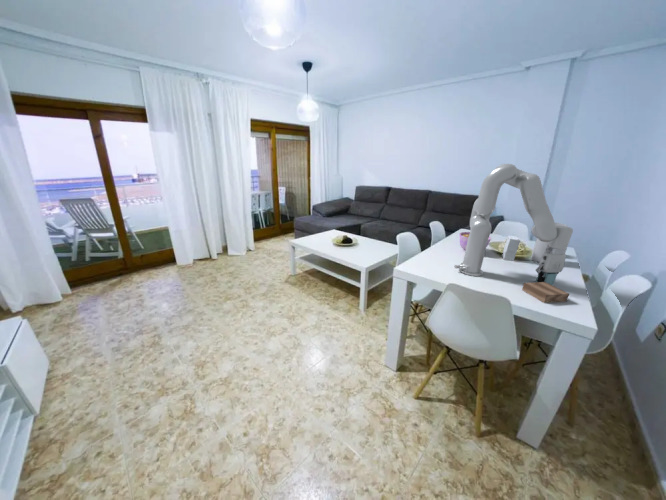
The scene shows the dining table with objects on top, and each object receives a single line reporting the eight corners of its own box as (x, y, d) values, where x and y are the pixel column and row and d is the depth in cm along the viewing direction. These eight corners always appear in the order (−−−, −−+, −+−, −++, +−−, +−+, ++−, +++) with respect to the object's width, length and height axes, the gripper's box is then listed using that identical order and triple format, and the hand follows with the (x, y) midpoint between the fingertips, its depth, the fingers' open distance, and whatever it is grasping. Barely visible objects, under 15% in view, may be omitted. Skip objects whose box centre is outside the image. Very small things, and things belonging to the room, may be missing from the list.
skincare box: (501, 255, 173) (507, 235, 168) (511, 257, 171) (517, 236, 166) (503, 259, 166) (509, 238, 161) (514, 261, 163) (520, 239, 158)
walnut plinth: (543, 302, 115) (546, 295, 113) (521, 290, 126) (524, 282, 125) (566, 301, 116) (569, 293, 115) (542, 289, 128) (545, 281, 126)
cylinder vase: (531, 261, 163) (542, 224, 155) (529, 256, 173) (540, 220, 165) (555, 266, 157) (569, 227, 149) (553, 260, 167) (565, 223, 158)
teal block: (544, 286, 130) (548, 274, 128) (535, 282, 135) (539, 270, 133) (552, 286, 131) (557, 273, 129) (543, 281, 136) (548, 269, 133)
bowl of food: (493, 253, 178) (497, 237, 174) (477, 258, 168) (481, 241, 164) (466, 245, 194) (469, 230, 190) (450, 249, 184) (453, 233, 180)
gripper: (547, 253, 122) (536, 286, 128) (577, 252, 124) (565, 285, 130) (534, 248, 129) (524, 280, 135) (562, 247, 131) (551, 279, 137)
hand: (544, 282), depth 133 cm, fingers closed on teal block, 5 cm apart
